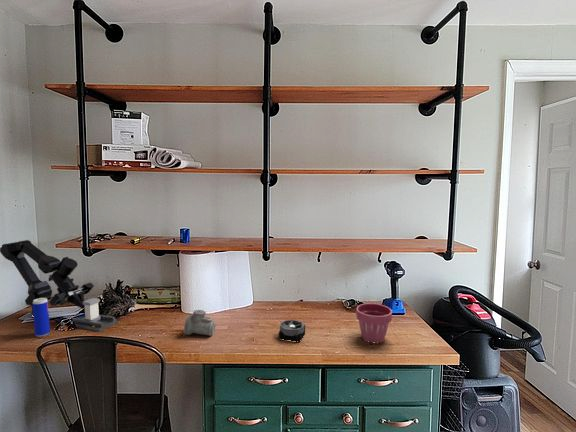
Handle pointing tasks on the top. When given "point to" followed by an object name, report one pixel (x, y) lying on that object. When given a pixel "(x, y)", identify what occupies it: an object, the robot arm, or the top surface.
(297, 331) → the cpu cooler
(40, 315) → the beverage can
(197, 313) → the pipe fitting
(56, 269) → the robot arm
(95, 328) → the fader track
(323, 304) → the top surface
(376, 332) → the plant pot
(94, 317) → the fader tab
